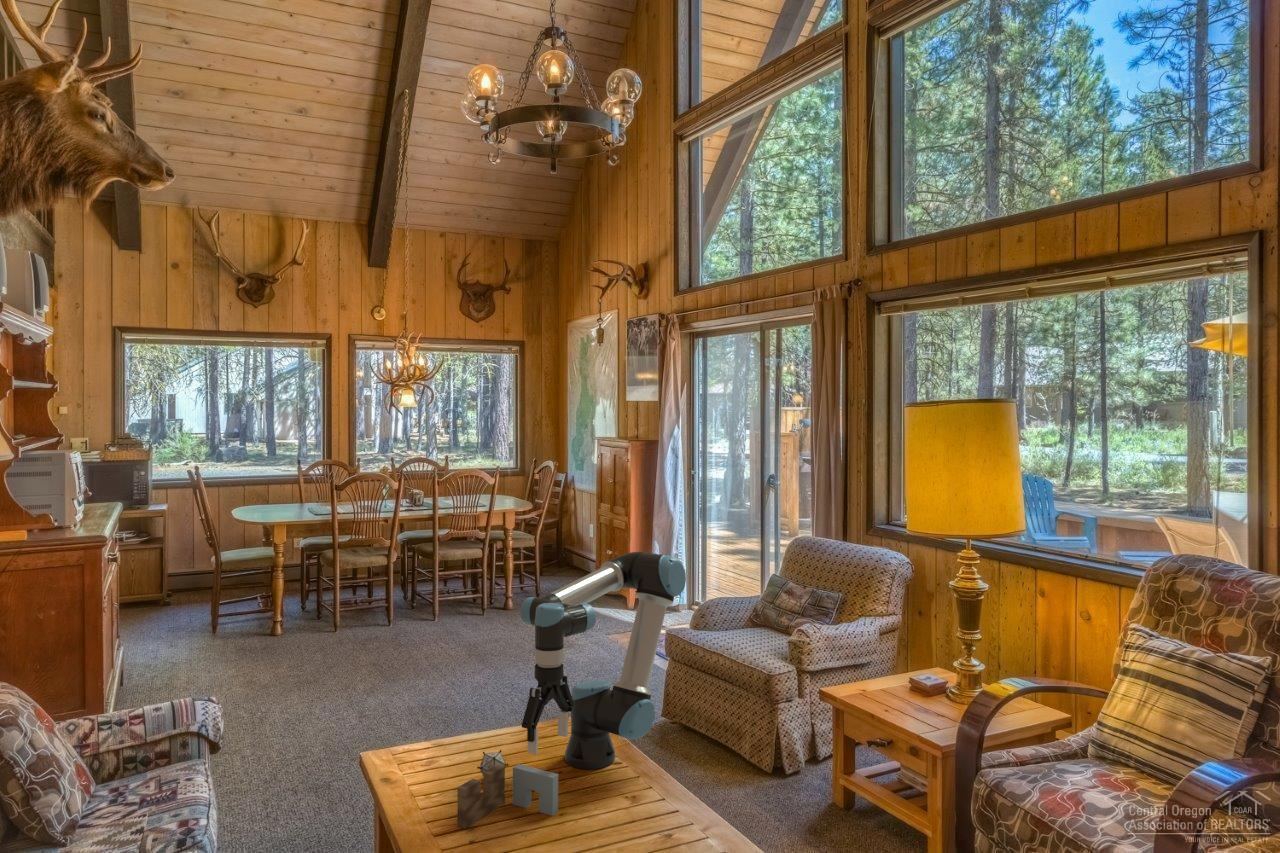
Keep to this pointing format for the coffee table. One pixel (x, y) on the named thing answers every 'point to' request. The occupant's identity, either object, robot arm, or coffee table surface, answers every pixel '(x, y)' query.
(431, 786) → the coffee table surface
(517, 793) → the cross plank
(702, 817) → the coffee table surface
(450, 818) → the coffee table surface
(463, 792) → the base plank
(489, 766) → the game die
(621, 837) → the coffee table surface
